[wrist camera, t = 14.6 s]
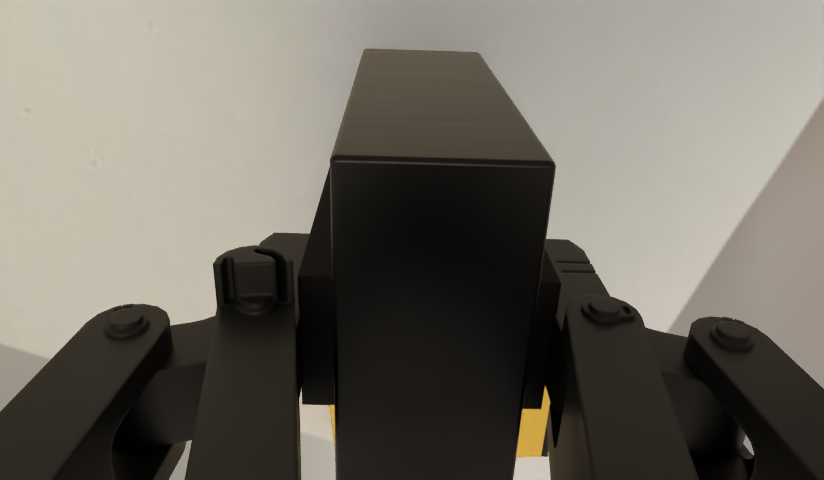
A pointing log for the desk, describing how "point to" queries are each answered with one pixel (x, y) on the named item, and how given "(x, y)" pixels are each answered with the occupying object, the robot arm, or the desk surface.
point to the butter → (533, 429)
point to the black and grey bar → (433, 268)
